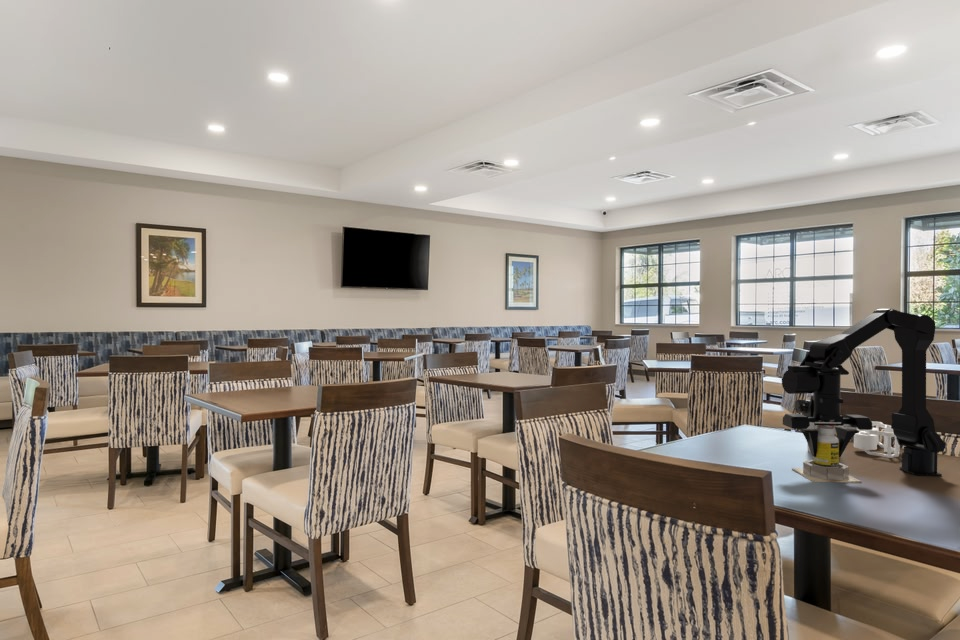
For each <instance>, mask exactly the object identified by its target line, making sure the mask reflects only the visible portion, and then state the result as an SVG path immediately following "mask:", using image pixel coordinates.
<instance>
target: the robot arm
mask: <svg viewBox="0 0 960 640" xmlns="http://www.w3.org/2000/svg"><path fill="white" fill-rule="evenodd" d="M886 329H887V330H890V331H892V332H893V334H894V340H895V341H896V343H897V345H898V346H899V348H900V349H901V406H900V408H899V410H898V411H897V412H892V414H891V425H890V426H891V428H892V429H893V432H894V435H896V438H897V441H898V444H899V445H900V446H903V452H902V453H901V466H900V467H899V470H901V471H904V472H906V473H908V474H911V475H914V476H927V477H929V476H933V477H936V476H937V477H942V473H940V472H938V454H939V453H943V452H944V451H945V448H946V442H945V441H944V440H943V439H942V438H941V437H940V436H939V434H938V433H937V432H936V427H935V421H934V418H933V417H932V415H931V413H930V412H929V410H928V409H927V351H928V349H929V347H930V346H931V345H932V343H933V342H934V340H935V333H936V321H935V320H934V319H933V318H932V317H931V316H929V315H928V314H913V313H910V312H909V313H908V312H903V311H900V310H897V309H894V308H878V309H875V310H873V312H872V313H871V314H869V315H868V316H866V317H864V318H863V319H861V320H860V321H858V322H857V323H854V325H852V326H850V327H849V328H846V330H844V331H842V332H841V333H838V334H836V335H833V336H829V337H825V338H822V339H819V340H817V341H815V342H813V343H812V344H811V345H810V346H809V351H808V353H807V354H806V355H805V356H804V359H803V360H802V361H801V362H800V364H799V365H787V370H786V371H785V372H784V373H783V375H782V378H781V385H782V389H783V390H784V392H785V393H787V394H790V395H791V394H792V395H794V394H795V395H796V394H797V395H799V394H803V395H804V394H813V395H810V398H809V399H810V401H809V402H806V400H805V399H795V401H794V402H795V403H794V409H795V412H796V413H785V414H784V415H783V416H782V425H784V426H786V427H787V428H790V429H794V430H795V429H796V430H799V431H800V432H801V433H802V435H803V436H804V439H805V440H806V442H807V447H808V446H809V449H810V451H811V452H810V454H811V456H812V458H814V457H816V454H817V441H818V430H815V429H814V425H835V430H836V433H837V438H838V440H839V458H841V457H842V455H843V454H844V451H845V450H846V448H847V446H849V445H848V444H850V441H851V440H852V439H853V438H854V435H855V434H856V433H859V431H858V430H857V428H858V429H860V430H872V427H873V425H872V422H873V421H872V420H871V418H870V417H868V416H865V415H861V414H844V415H841V404H844V398H841V376H847V375H849V374H850V372H849V371H848V370H847V369H845V368H844V366H843V364H844V363H845V362H846V361H847V360H848V359H849V358H850V357H851V356H852V354H853V351H854V350H855V349H856V348H858V347H859V346H861V345H862V344H864V343H865V342H867V341H868V340H870V339H872V338H873V337H875V336H876V335H878V334H879V333H881V332H882V331H884V330H886ZM808 417H813V418H808ZM821 421H822V422H821ZM836 426H838V427H836Z"/></svg>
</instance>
